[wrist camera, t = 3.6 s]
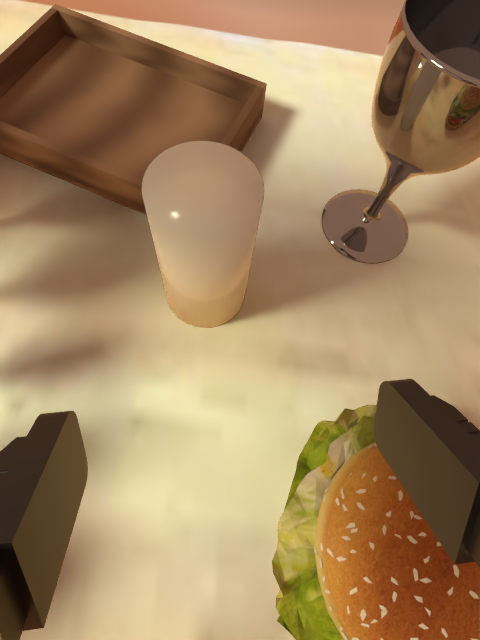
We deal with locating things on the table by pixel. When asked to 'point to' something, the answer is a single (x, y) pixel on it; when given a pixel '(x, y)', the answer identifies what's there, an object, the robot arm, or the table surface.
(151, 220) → the dome-topped cylinder
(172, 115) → the serving tray
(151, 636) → the table surface
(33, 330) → the table surface
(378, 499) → the food
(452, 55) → the wine glass
